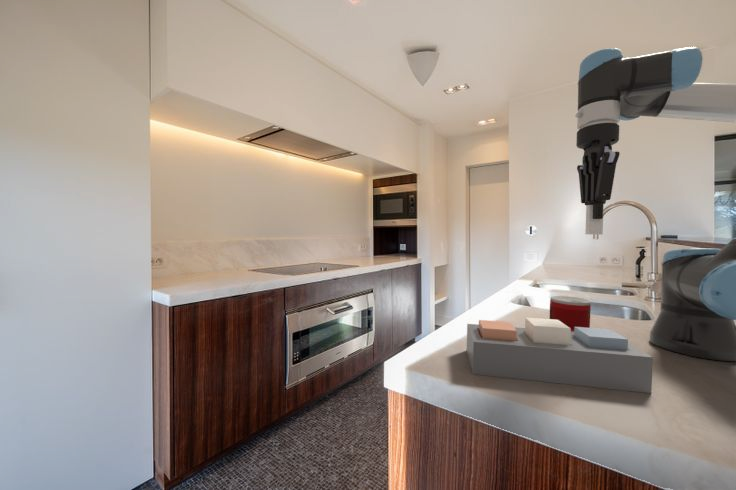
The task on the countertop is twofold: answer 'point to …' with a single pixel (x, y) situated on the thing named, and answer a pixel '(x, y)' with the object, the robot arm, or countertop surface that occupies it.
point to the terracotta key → (497, 330)
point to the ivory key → (547, 331)
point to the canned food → (570, 311)
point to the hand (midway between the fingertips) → (593, 234)
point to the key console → (559, 362)
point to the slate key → (600, 338)
